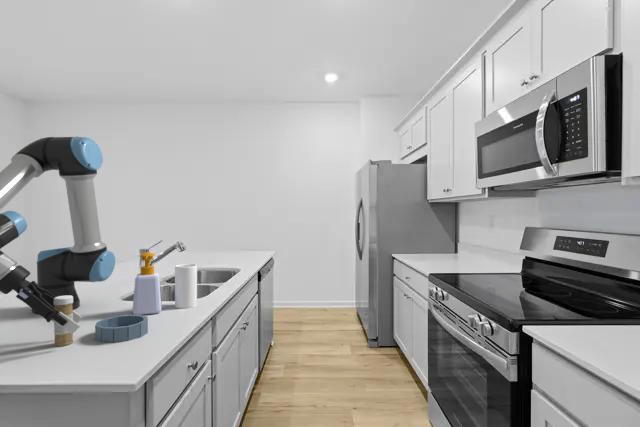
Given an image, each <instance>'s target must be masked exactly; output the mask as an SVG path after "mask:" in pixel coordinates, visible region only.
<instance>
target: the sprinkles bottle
mask: <svg viewBox="0 0 640 427" xmlns="http://www.w3.org/2000/svg"><path fill="white" fill-rule="evenodd" d="M72 304H73V296H71V295H65V296H58V297H55V298H54V306H55V309H56V310H57V311H58V312H62V313H63V314H64V315H66V316H67V317H69V318H70V319H71V320H73V311H74V309H72V308H73V306H72ZM53 324H54V327H53V331H54V332H53V333H54V343H53V344H54V346H55V347H63V346H65V347H66V346H68V345H71V344H73V342H74V340H73V338H74V336H73V334H74V333H73V334H70V333H69V332H68V331H66V330H65V329H63V328H62V327H60V326H59V325H58V324H56V323H55V322H53Z"/></svg>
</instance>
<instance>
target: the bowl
mask: <svg viewBox="0 0 640 427" xmlns="http://www.w3.org/2000/svg"><path fill="white" fill-rule="evenodd" d="M148 318H149V317H148V316H146V315H134V314H124V315H122V314H121V315H115V316H110V317H106V318H104V319H101V320H99V321H97V322H96V323H95V326H94V327H95V328H94V336H95V338H94V339H95V341H98V342H101V343H121V342H128V341H132V340H135V339H138V338H142V337H144V336H145V335H147V334H148V331H149V330H148V326H149V325H148V324H149V323H148V321H149V319H148Z"/></svg>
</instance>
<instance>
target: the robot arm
mask: <svg viewBox="0 0 640 427" xmlns="http://www.w3.org/2000/svg"><path fill="white" fill-rule="evenodd" d="M103 159H104V158H103V152H102V150H101V147H100V146H99V144H98V143H96V141H95V140H93V139H92V138H90V137H86V136H85V137H84V136H47V137H42V138H39V139H37V140H34V141H32V142H30V143H29V144H27V145H26V146H24V147H23V148H21V149H19V151H17V152H16V153H15V154H13V156H12V157H11V158H10V161H11V162H10V163H9V164H8V165H6V167H4V168H3V169H2V170H1V171H0V211H1V210H2V209H3V208H4V207H5V206H7V205H8V204H9V203H10V202H11V200H12V199H14V197H16V195H17V194H18V193H20V191H22V190H23V189H24V187H25V186H26V185H28V184H29V183H30V182H31V180H33V178H38V177H41V176H42V174H44V173H45V172H48V171H55V170H56V171H58V175H59V177H60V178H61V179H63V180H64V181H65V187H66V188H65V189H66V195H67V200H68V201H67V202H68V208H69V209H68V210H69V215H70V222H71V223H70V224H71V229H72V235H73V236H72V237H73V243H74V244H73V246H68V247H61V248H54V249H47V250H40V251H39V252H38V254H37V261H36V276H37V279H36V280H37V282H36V281H35V280H32V281H31V282H30V281H28V280H27V278H28V277H29V276H30V275H31V272H30V271H29V270H28V269H27V268H25V267H24V266H22V265H21V264H20V265H19V264H18V262H17V261H16V260H15V259H14V258H12V257H10V256H9V255H7V254H6V253H5V252H3V251H2V250H1V249H2V248H4V247H5V246H6V245H8V244H10V243H11V242H13V241H14V240H15V239H17V238H20V236H21V235H22V234H23V233H25V232H26V230H27V229H28V222H27V220H26V218H25V217H24V216H23V215H22V214H20V213H19V212H17V211H14V210H5V211H3V212H1V213H0V292H1V293H2V294H4V295H8V294H9V293H11V292H12V291H14V292H15V293H17V294H16V296H15V298H17V299H18V300H20V301H22V302H23V303H24V304H26V305H27V307H30V308H31V313H33V314H38V315H39V316H41V317H42V318H43V319H44V320H45V321H46V322H47V323H50V322H51V321H52V322H53V323H54V322H55V323H56V324H58V325H59V326H60V327H62V328H63V329H65V330H66V331H68V332H69V333H70V334H74V333H75V332H76V331H77V330H78V329H79V328H80V327H81V325H80V324H78V323H79V321H81V320H82V319H83V317H82V316H81V315H80V314H78V313H77V312H76V311H74V310H75V309H78V308H79V307H80V306H81V301H80V298H79V295H78V293H77V290H76V287H75V282H79V283H80V282H82V283H87V282H88V283H98V282H99V283H100V282H105V281H106V280H108V279H109V278H110V277H111V276H112V273H113V272H114V269H115V266H116V256H115V254H114V252H113V251H110V250H108V248H107V244H106V243H105V242H103V241H102V238H101V230H100V229H101V228H100V222H99V215H98V206H97V199H96V191H95V182H94V178H95V177H97V175H98V172H97V170H99V169H101V167H102V165H103V164H102V163H104V162H103V161H104V160H103ZM17 264H18V265H17ZM65 295H71V296H73V304H72V306H73V308H72V309H73V320H71V319H70V318H69V317H67V316H66V315H64V314H63V313H62V312H58V311H57V310H56V309H55V306H54V298H55V297H58V296H65Z"/></svg>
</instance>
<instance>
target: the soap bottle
mask: <svg viewBox="0 0 640 427" xmlns="http://www.w3.org/2000/svg"><path fill="white" fill-rule="evenodd" d="M140 257H141V261H144V265H143V266H140V273H138V274H137V275H136V276H135V279H134V288H133V290H134V291H133V300H132V315H143V316H145V315H152V314H153V315H154V314H159V313H161V311H162V296H161V294H162V293H161V284H160V275H159V273H158V272H155V266H154V265H150V264H151V263H150V262H151V261H153V260H154V257H156V254H154V253H152V252H150V251H148V252H147V251H146V252H143V253H142V254H140V255H139V258H140Z"/></svg>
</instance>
